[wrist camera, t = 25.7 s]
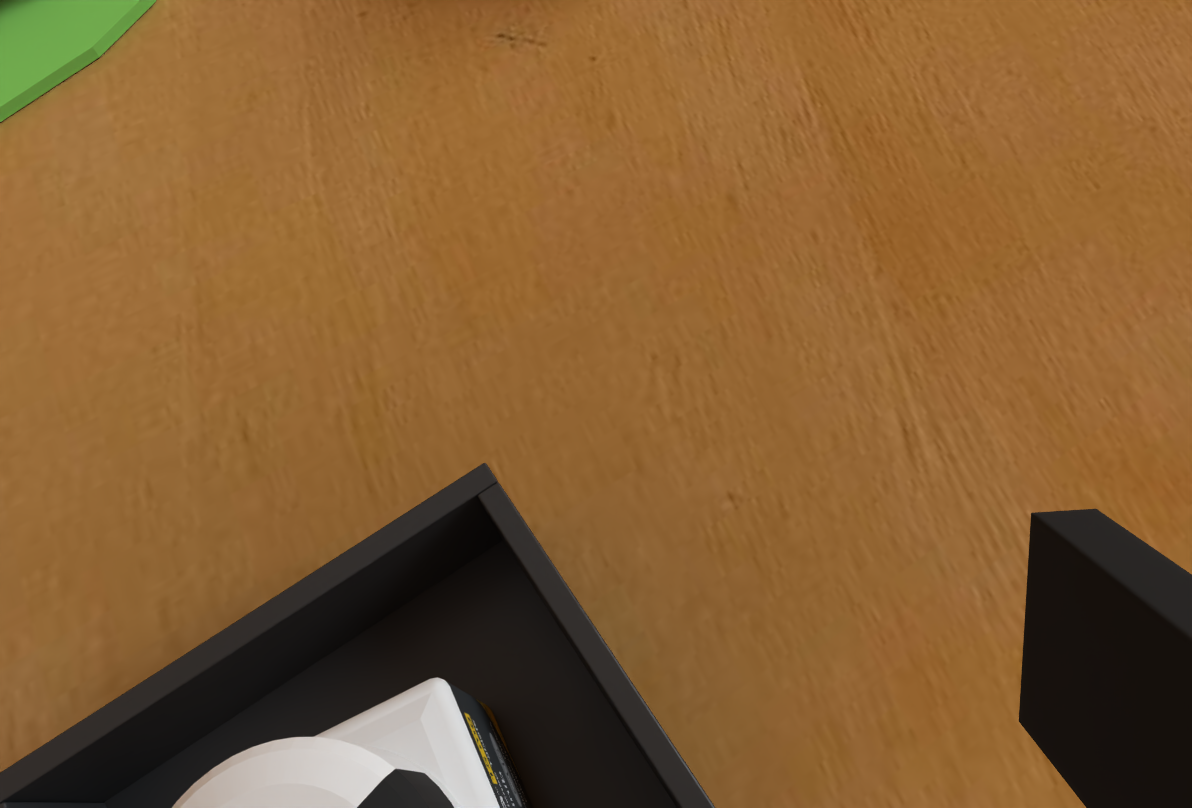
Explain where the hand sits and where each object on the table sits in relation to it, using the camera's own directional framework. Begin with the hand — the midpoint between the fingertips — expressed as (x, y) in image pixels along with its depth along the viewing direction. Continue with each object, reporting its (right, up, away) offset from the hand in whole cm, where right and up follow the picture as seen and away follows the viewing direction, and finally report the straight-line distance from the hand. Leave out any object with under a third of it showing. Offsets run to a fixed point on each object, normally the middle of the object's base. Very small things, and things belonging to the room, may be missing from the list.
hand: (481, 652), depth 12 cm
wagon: (-26, +21, +32) cm, 47 cm away
